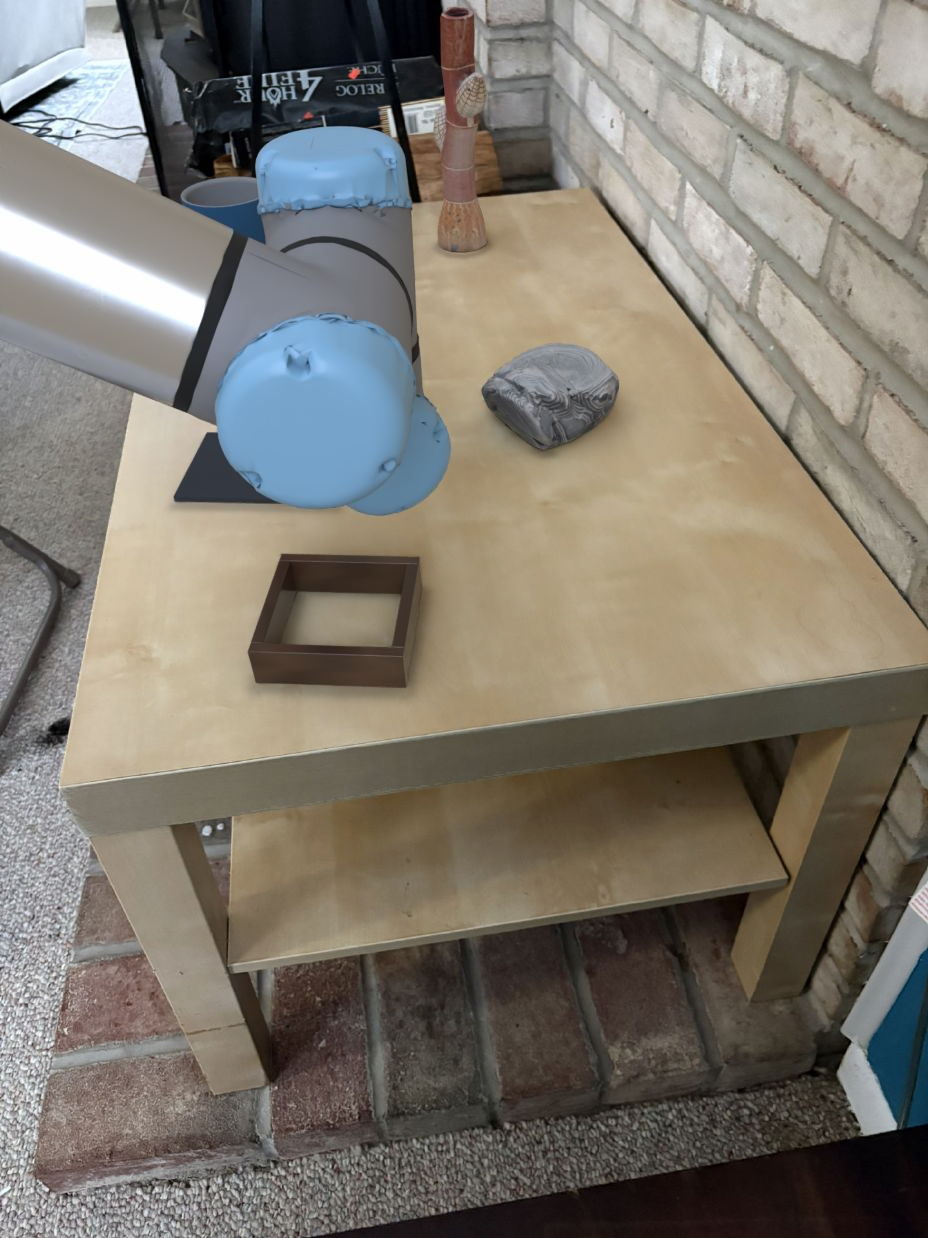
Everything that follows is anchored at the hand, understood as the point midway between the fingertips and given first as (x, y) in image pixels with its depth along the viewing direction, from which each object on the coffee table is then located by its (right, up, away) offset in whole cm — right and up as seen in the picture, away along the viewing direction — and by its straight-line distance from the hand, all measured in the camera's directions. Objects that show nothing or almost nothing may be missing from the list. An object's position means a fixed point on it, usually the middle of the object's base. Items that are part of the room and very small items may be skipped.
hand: (223, 242), depth 77 cm
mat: (0, -16, +18) cm, 24 cm away
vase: (+20, +24, +61) cm, 68 cm away
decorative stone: (+29, -10, +23) cm, 39 cm away
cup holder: (+10, -33, -1) cm, 34 cm away
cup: (+2, -10, +3) cm, 11 cm away
